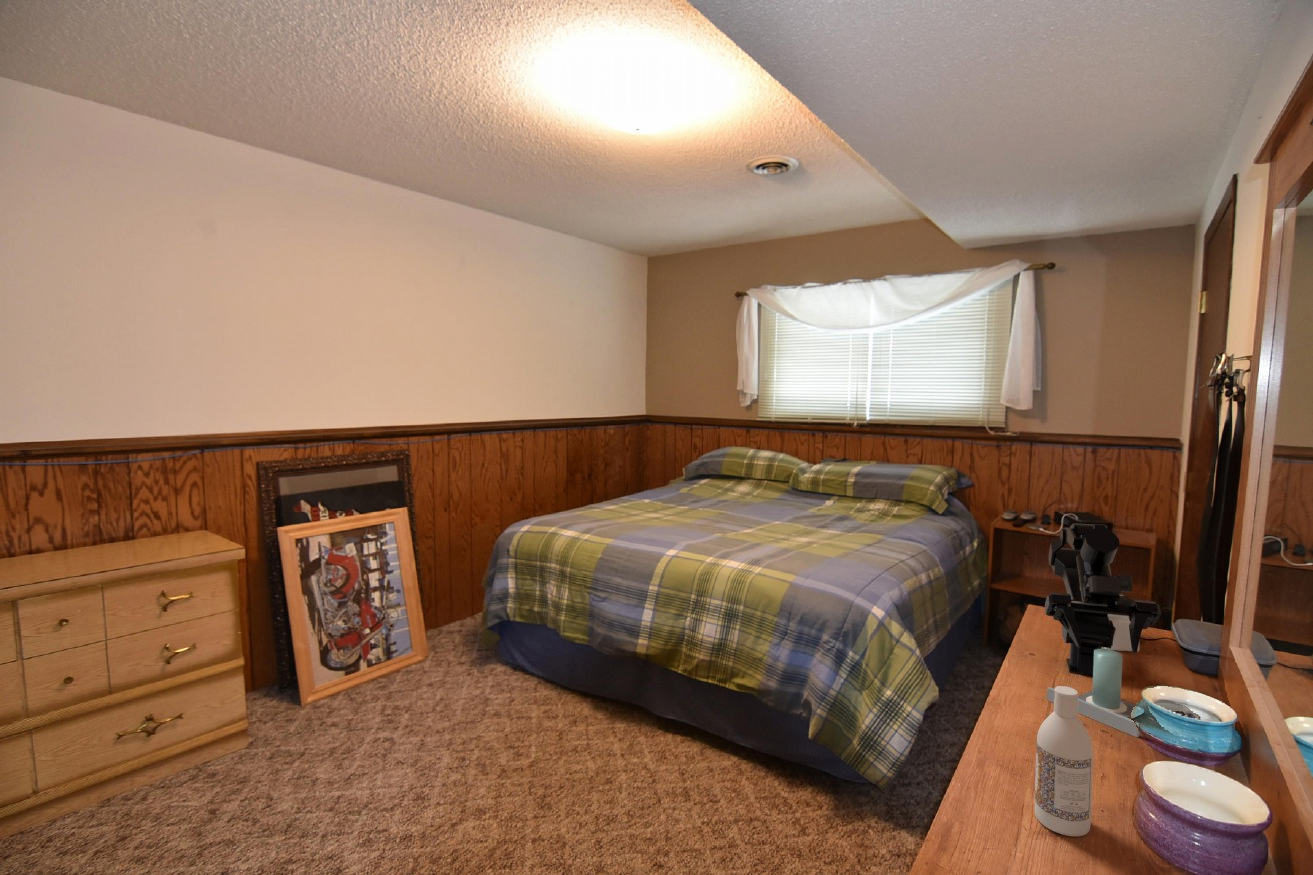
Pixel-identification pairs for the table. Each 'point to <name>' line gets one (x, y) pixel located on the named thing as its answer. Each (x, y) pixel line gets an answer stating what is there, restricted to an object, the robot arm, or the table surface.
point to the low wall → (1102, 715)
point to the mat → (1123, 710)
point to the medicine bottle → (1121, 628)
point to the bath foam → (1064, 768)
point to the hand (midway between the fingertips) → (1106, 649)
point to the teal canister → (1107, 678)
